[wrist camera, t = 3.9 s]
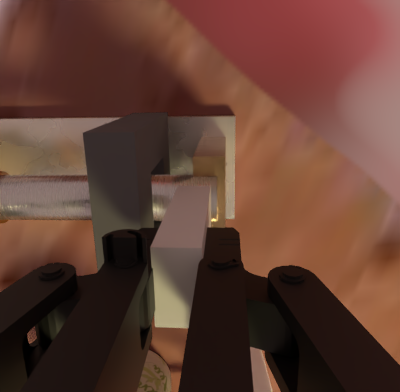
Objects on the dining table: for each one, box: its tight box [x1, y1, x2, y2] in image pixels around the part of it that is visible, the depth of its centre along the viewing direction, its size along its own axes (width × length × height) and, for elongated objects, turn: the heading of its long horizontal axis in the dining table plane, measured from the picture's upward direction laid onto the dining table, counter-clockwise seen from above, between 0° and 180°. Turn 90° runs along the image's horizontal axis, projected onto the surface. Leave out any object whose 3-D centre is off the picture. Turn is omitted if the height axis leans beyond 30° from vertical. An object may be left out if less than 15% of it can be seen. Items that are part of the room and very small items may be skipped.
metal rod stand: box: [0, 115, 235, 228], centre depth 23 cm, size 20×7×8 cm, turn 91°
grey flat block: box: [83, 112, 170, 271], centre depth 20 cm, size 2×8×8 cm, turn 1°
